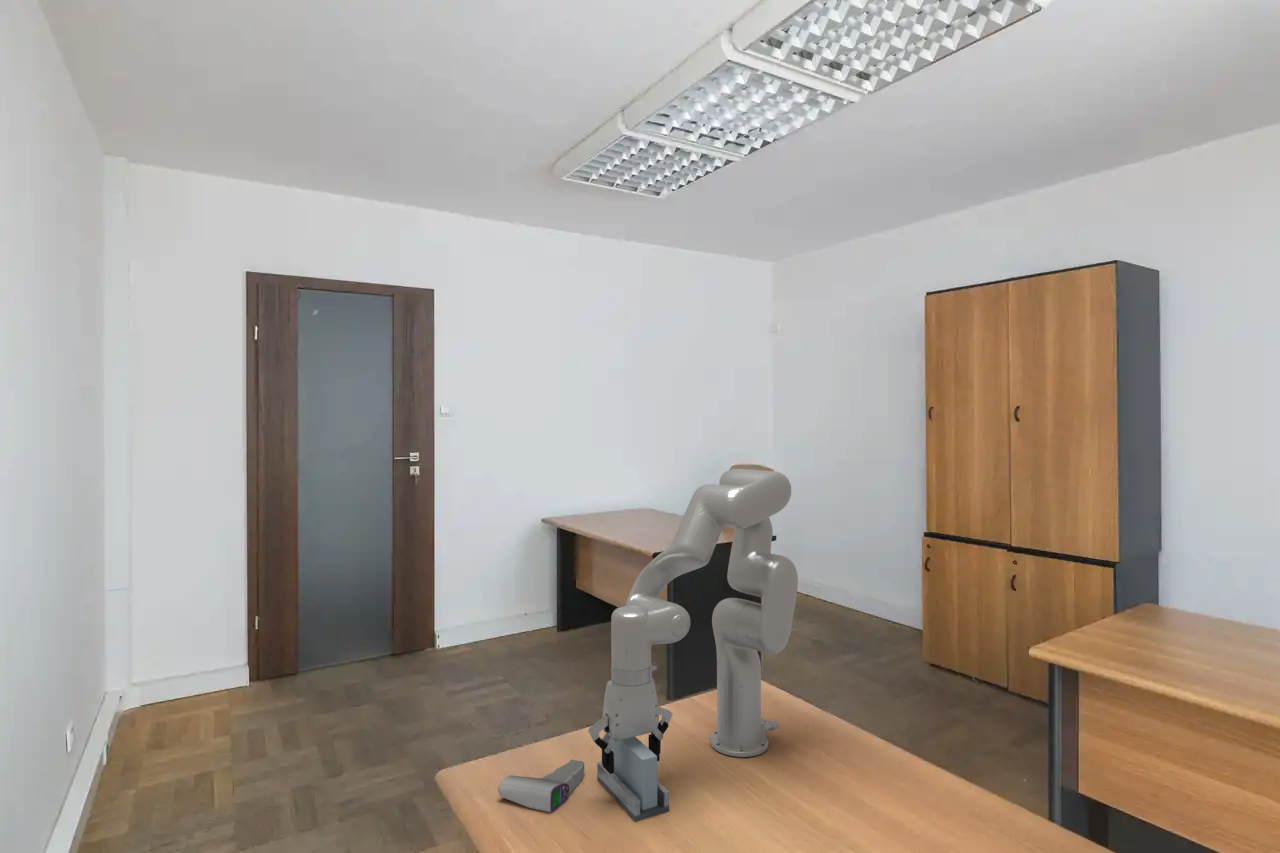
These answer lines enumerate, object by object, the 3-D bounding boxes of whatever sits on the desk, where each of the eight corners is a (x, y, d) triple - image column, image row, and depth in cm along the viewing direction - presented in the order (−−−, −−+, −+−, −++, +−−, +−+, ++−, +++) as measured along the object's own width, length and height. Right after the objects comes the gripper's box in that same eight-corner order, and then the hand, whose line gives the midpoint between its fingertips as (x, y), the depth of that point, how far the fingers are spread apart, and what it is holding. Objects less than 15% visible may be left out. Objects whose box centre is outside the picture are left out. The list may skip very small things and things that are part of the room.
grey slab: (609, 774, 135) (609, 729, 135) (623, 770, 136) (623, 725, 136) (642, 810, 123) (642, 760, 123) (657, 805, 124) (657, 756, 124)
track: (597, 780, 135) (597, 762, 135) (629, 771, 138) (628, 754, 138) (635, 821, 121) (634, 802, 121) (669, 811, 124) (669, 791, 124)
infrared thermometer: (589, 781, 137) (554, 817, 123) (535, 771, 141) (495, 804, 127) (589, 758, 137) (555, 790, 123) (535, 748, 141) (496, 779, 127)
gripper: (661, 660, 137) (661, 745, 137) (581, 675, 129) (581, 766, 129) (680, 672, 130) (681, 762, 130) (597, 689, 122) (598, 785, 122)
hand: (631, 764), depth 129 cm, fingers open, 9 cm apart
